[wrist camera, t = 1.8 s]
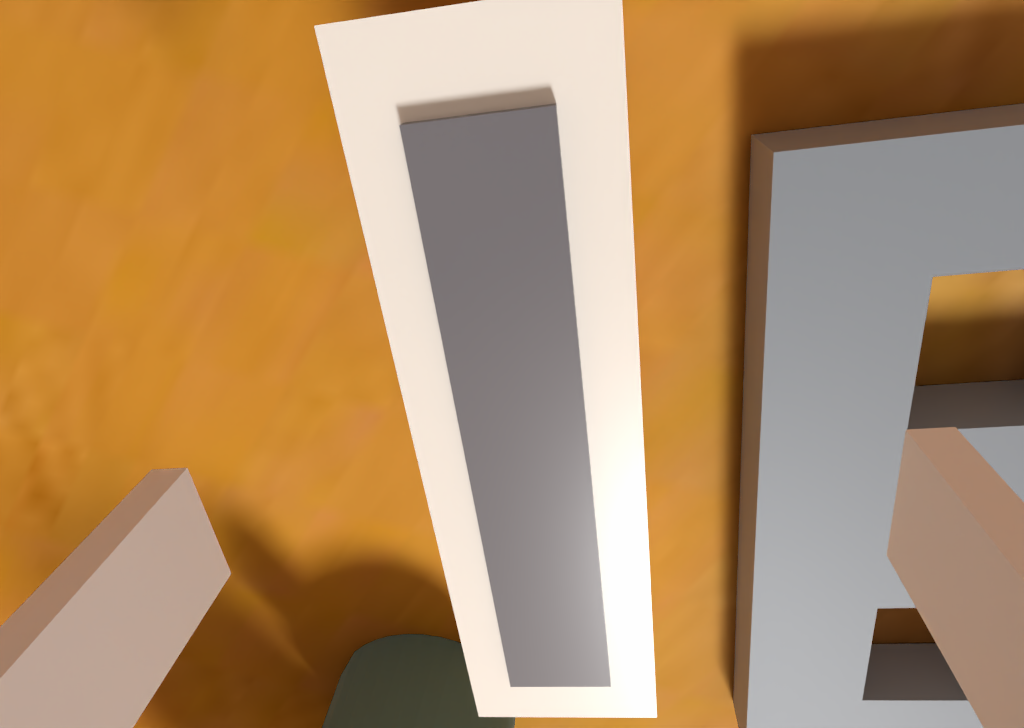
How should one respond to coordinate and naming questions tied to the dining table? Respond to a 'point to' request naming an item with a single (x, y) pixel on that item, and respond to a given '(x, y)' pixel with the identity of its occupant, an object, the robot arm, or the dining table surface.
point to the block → (513, 329)
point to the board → (858, 400)
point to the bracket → (408, 687)
